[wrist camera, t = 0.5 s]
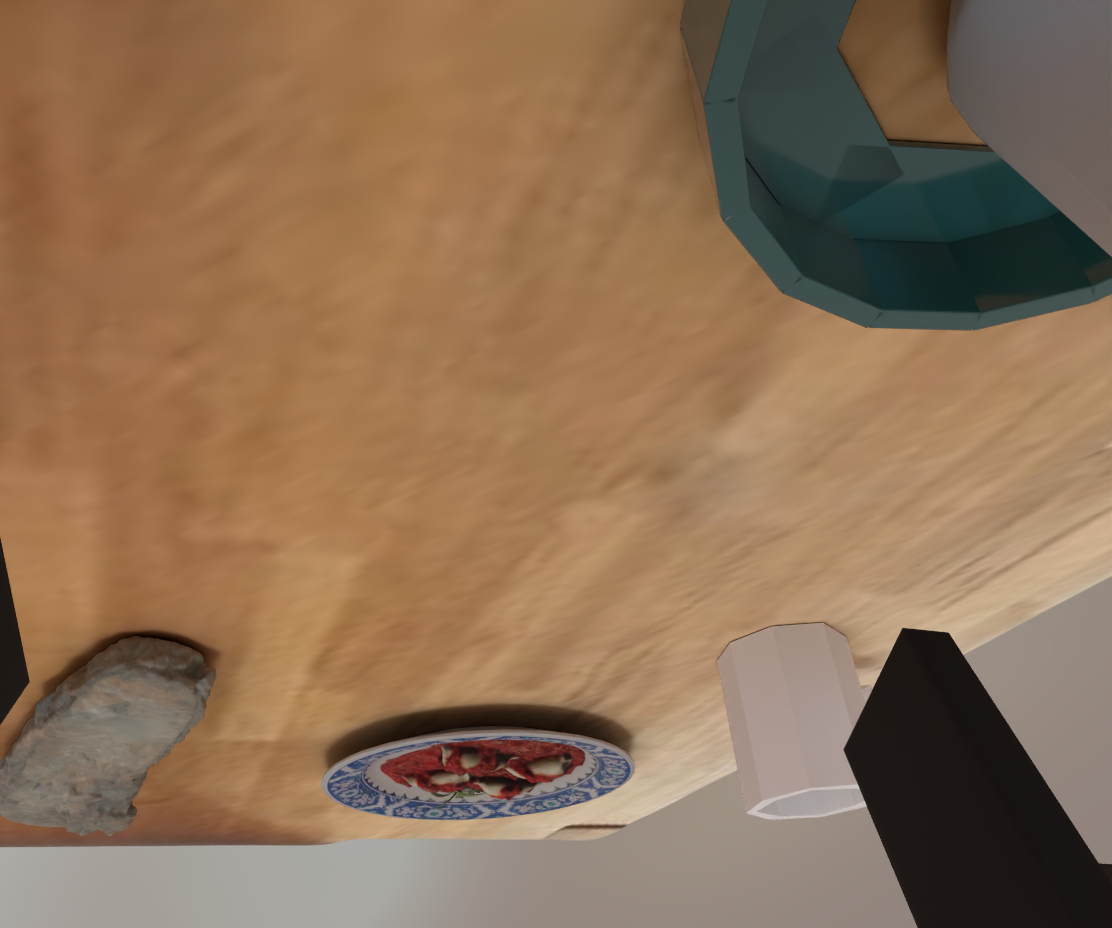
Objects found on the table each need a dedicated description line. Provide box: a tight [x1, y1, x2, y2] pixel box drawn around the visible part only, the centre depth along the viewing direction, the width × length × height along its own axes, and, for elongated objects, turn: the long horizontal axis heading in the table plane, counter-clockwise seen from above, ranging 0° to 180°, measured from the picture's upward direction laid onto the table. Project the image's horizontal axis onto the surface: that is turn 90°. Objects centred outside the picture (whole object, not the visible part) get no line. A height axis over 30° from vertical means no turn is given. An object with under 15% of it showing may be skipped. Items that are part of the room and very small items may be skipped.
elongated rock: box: [0, 636, 216, 836], centre depth 58 cm, size 35×5×10 cm
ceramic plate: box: [321, 726, 635, 820], centre depth 70 cm, size 26×26×3 cm
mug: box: [717, 623, 872, 820], centre depth 54 cm, size 12×9×10 cm
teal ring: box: [680, 0, 1112, 331], centre depth 20 cm, size 18×18×4 cm
